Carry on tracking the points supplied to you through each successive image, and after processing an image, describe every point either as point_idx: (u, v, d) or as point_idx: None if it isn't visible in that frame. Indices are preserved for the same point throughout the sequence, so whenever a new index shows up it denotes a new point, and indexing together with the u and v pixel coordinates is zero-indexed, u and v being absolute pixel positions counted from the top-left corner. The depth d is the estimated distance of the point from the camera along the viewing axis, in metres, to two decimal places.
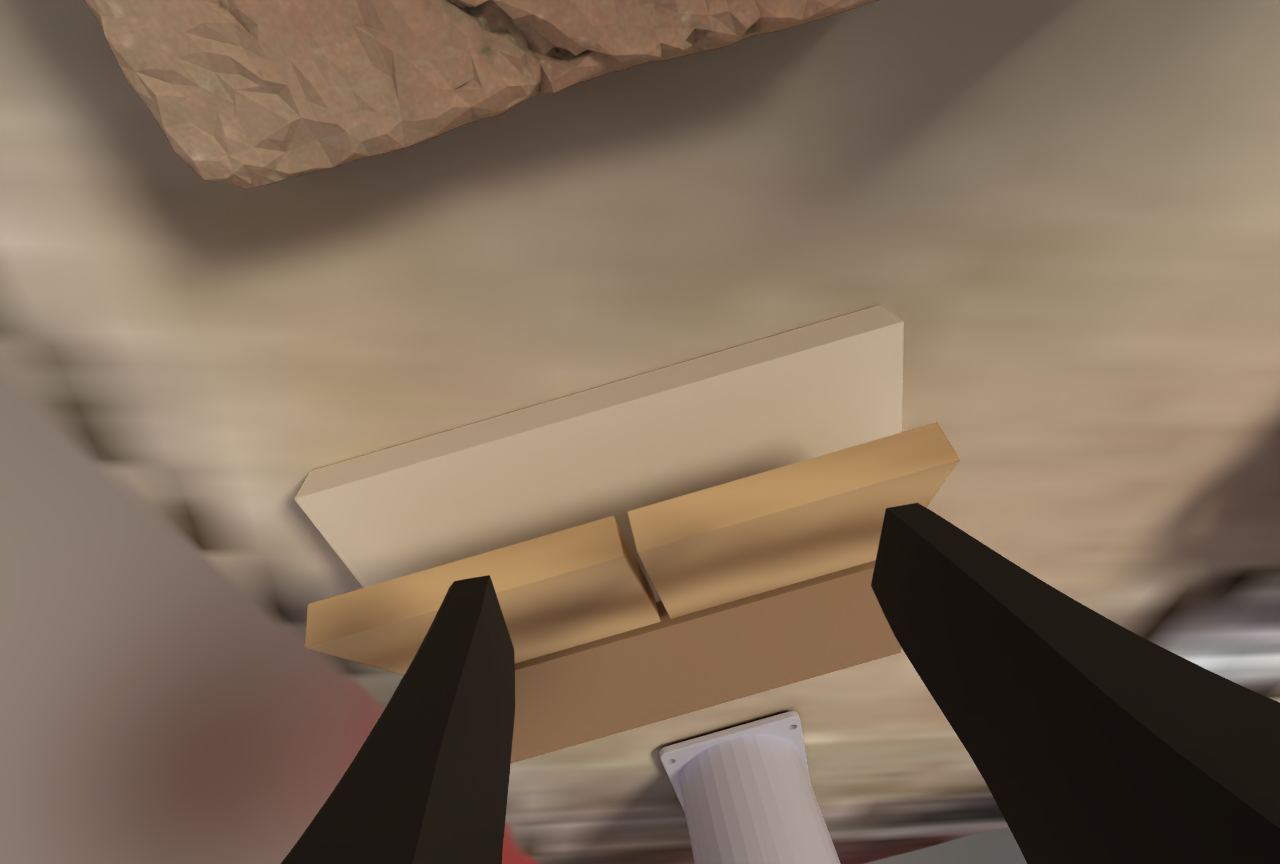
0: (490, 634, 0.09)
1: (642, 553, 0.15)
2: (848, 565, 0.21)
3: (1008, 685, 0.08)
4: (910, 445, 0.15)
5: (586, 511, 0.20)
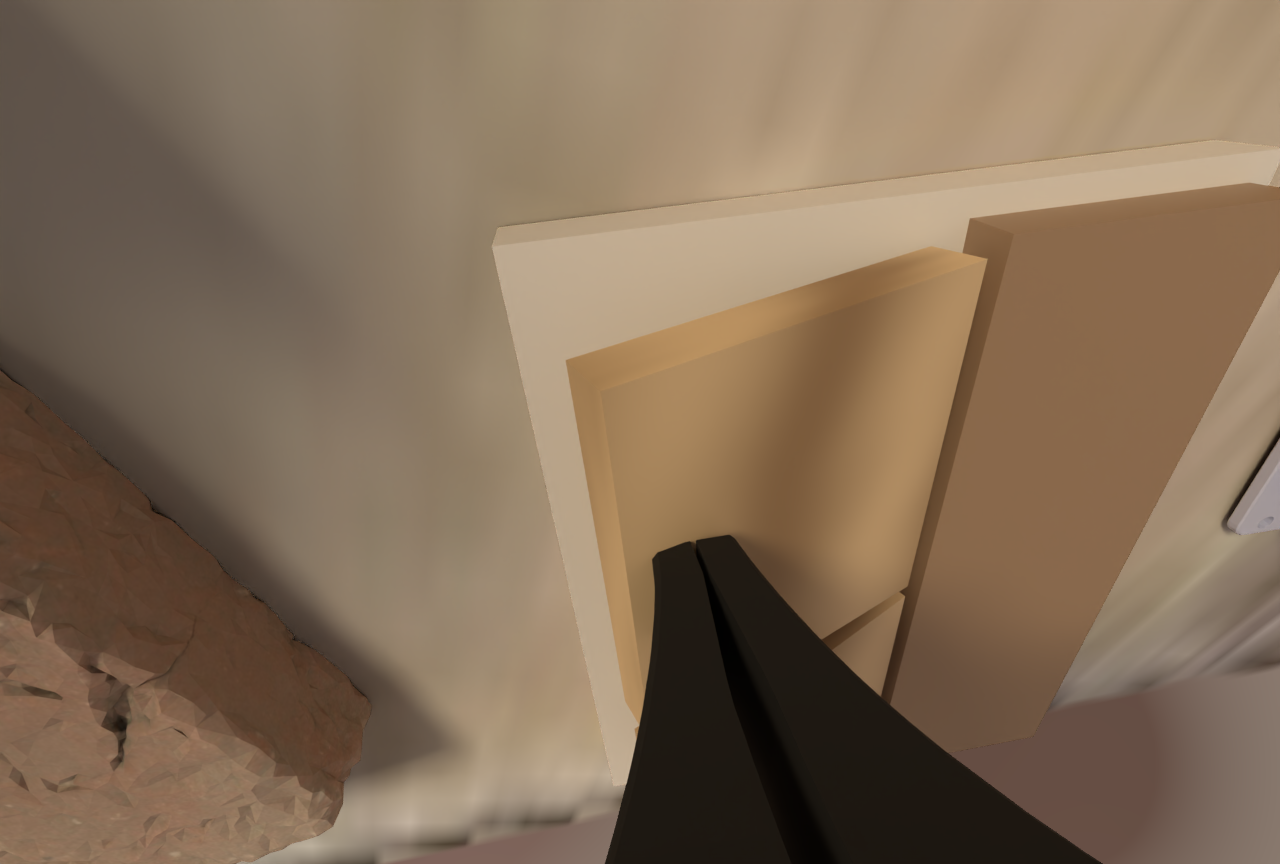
0: None
1: None
2: (952, 354, 0.11)
3: (764, 733, 0.08)
4: (586, 427, 0.09)
5: None
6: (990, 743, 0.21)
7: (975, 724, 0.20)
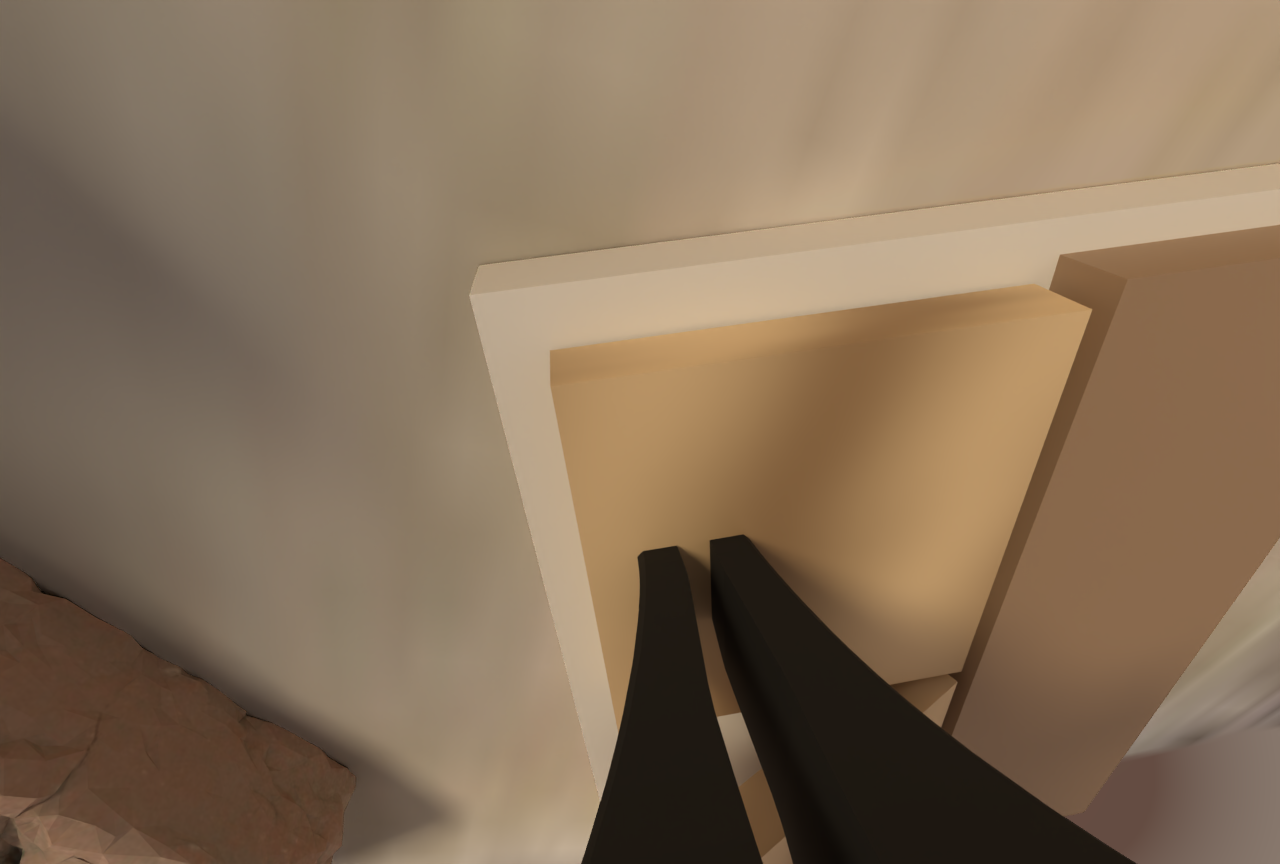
0: None
1: None
2: (1031, 418, 0.09)
3: (781, 729, 0.08)
4: None
5: None
6: None
7: None
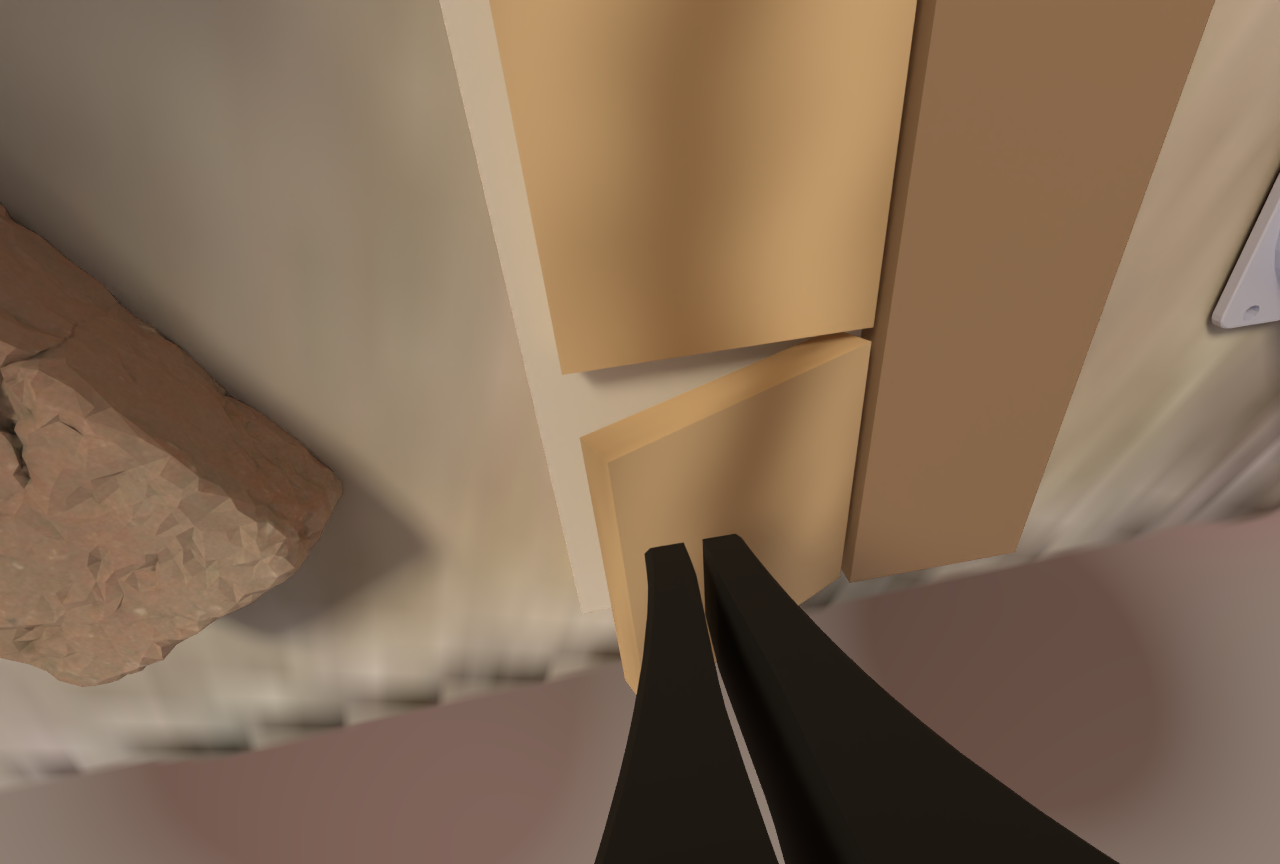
0: None
1: (569, 369, 0.14)
2: None
3: (773, 731, 0.08)
4: None
5: (669, 392, 0.16)
6: (970, 557, 0.20)
7: (953, 530, 0.19)
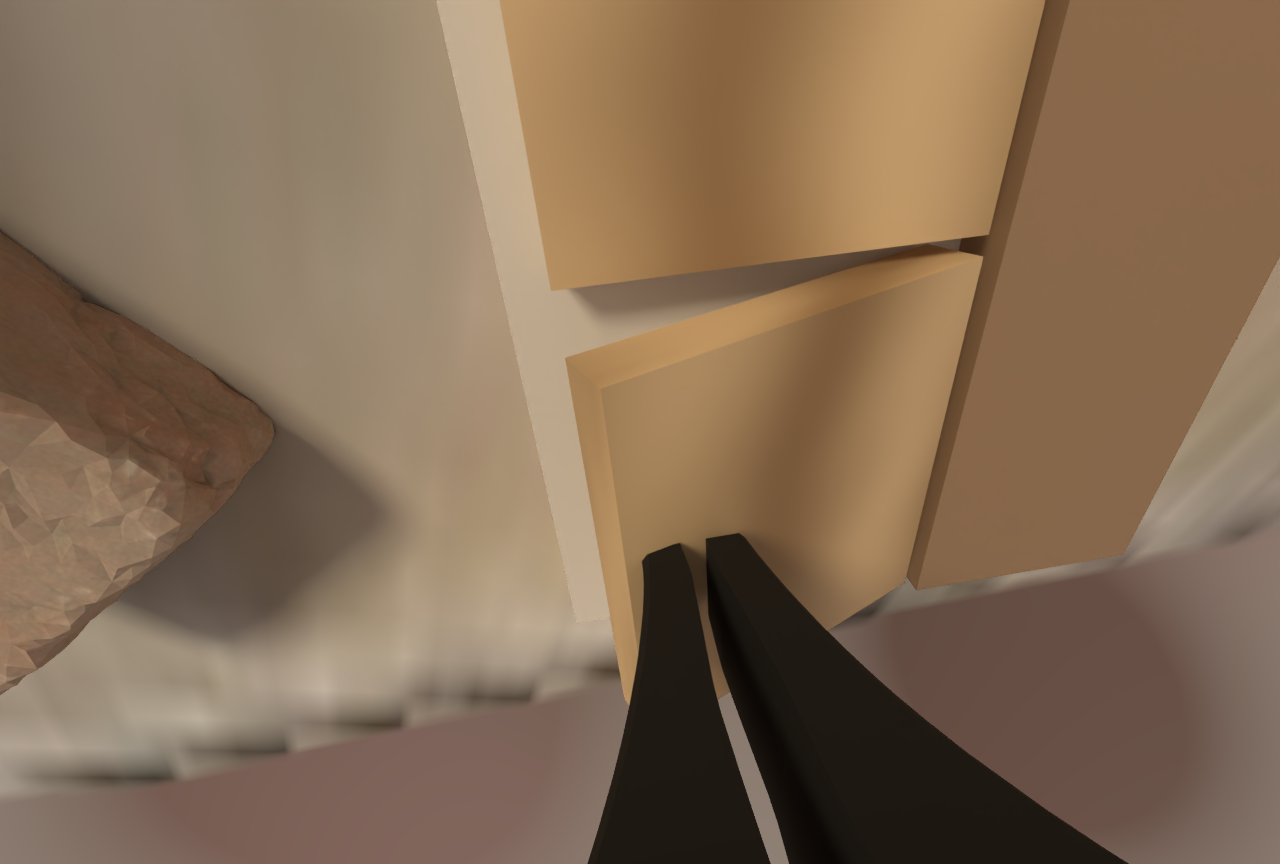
0: None
1: (561, 283, 0.10)
2: None
3: (777, 731, 0.08)
4: None
5: None
6: (1068, 561, 0.16)
7: (1053, 526, 0.15)
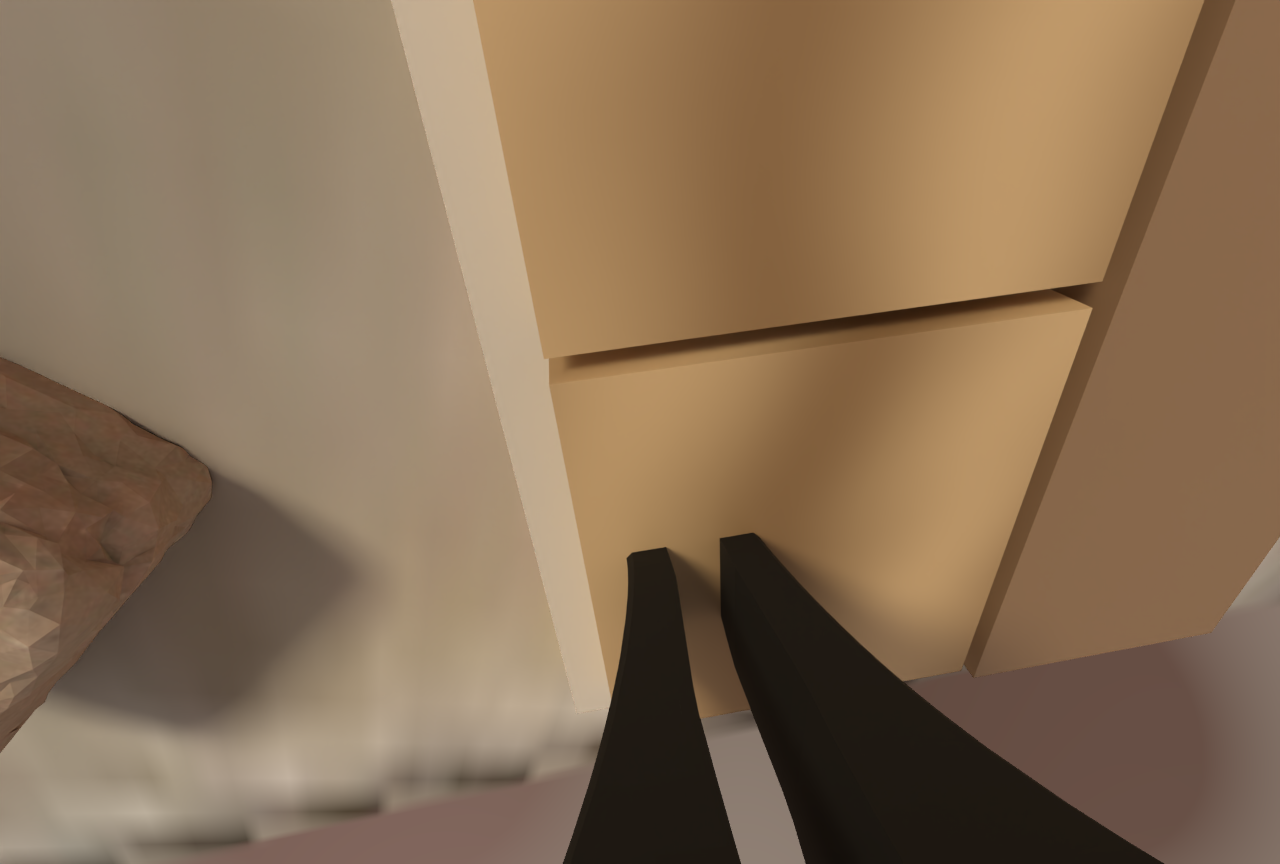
0: None
1: (557, 349, 0.08)
2: None
3: (794, 728, 0.08)
4: None
5: None
6: (1148, 641, 0.14)
7: (1136, 606, 0.13)
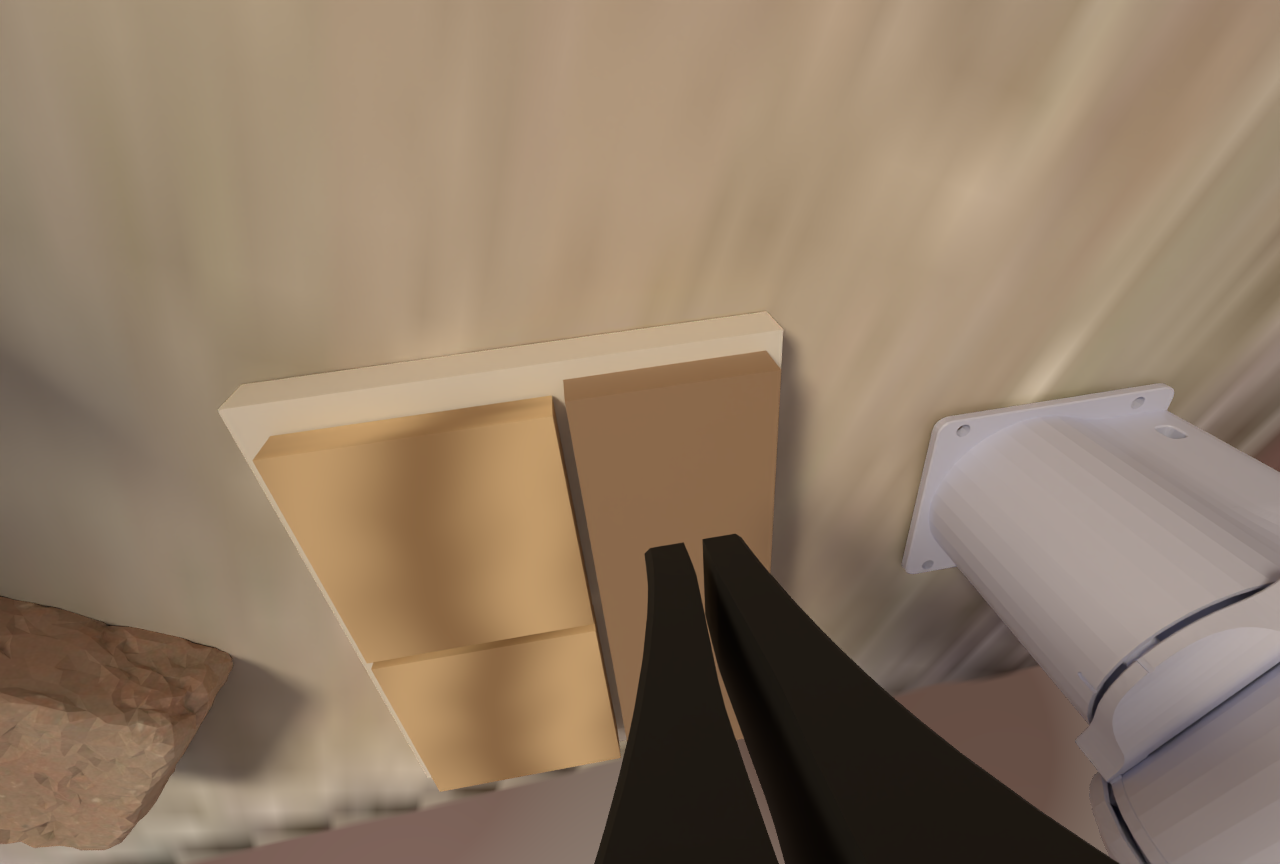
0: None
1: (371, 660, 0.20)
2: (548, 471, 0.17)
3: (773, 731, 0.08)
4: None
5: None
6: None
7: None
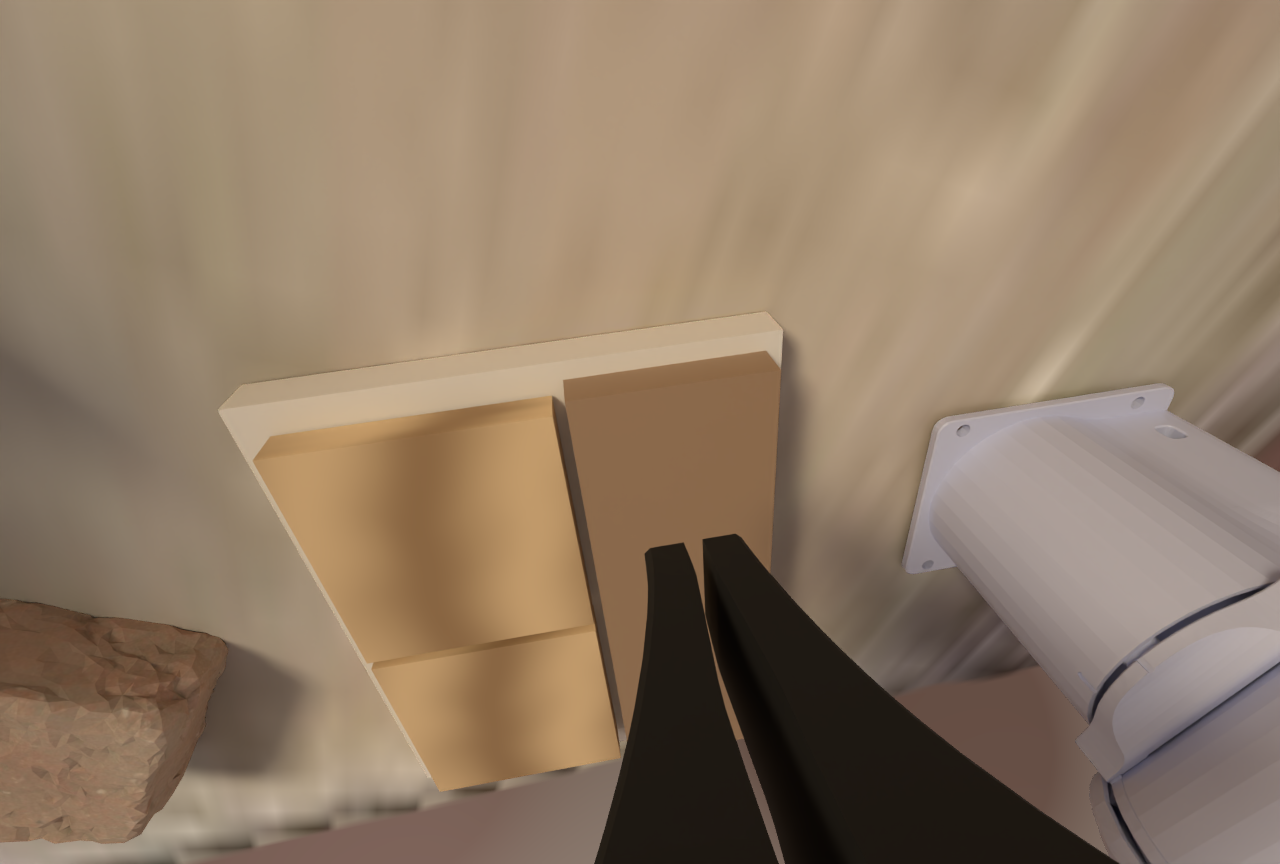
0: None
1: (371, 660, 0.20)
2: (548, 471, 0.17)
3: (773, 731, 0.08)
4: None
5: None
6: None
7: None
